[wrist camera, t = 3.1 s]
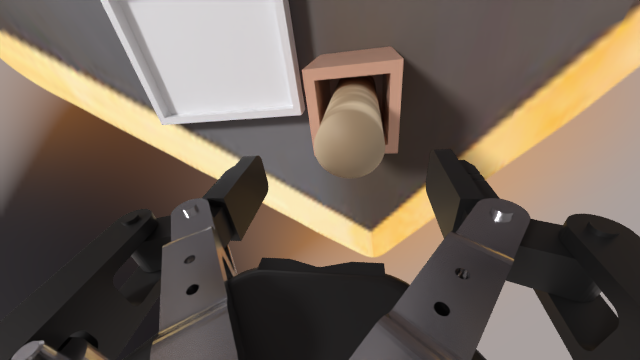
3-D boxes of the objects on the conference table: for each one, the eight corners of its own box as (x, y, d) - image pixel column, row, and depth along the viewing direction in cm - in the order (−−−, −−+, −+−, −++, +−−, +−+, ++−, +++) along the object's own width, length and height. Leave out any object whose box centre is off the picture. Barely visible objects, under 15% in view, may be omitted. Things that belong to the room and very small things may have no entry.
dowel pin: (375, 66, 24) (386, 111, 12) (375, 106, 26) (384, 177, 14) (335, 70, 24) (309, 116, 13) (338, 109, 27) (318, 179, 15)
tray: (280, -53, 21) (272, -59, 19) (305, 109, 28) (301, 115, 26) (109, -17, 24) (91, -19, 22) (172, 119, 32) (162, 124, 30)
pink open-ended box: (391, 46, 23) (403, 58, 16) (388, 116, 27) (397, 153, 20) (320, 54, 25) (301, 70, 17) (327, 120, 28) (314, 156, 21)
